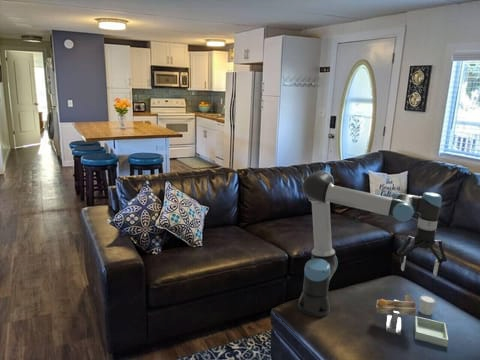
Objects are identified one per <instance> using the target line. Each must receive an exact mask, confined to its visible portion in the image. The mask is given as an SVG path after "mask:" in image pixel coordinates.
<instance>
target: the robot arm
mask: <svg viewBox="0 0 480 360" xmlns="http://www.w3.org/2000/svg"><path fill="white" fill-rule="evenodd" d="M334 184H335V179H334V176H333V175H332V174H331V173H330V172H328V171H326V170H317V171H314V172H313V173H311V174H310V175H308V176H306V178H304V180H303V181H302V184H301V185H302V186H301V189H302V192H303V194H304V196H306V197H307V198H308V202H311V213H312V227H313V228H312V229H313V231H312V233H313V245H314V246H313V247H314V248H313V249H312V250H311V259H309V260H308V261H307V262H306V263H305V264H304V274H303V285H302V286H303V287H302V292H301V294H300V297H299V299H298V302H297V308H298V310H299V311H300V312H301V313H302V314H304V315H306V316H309V317H314V318H321V317H322V318H323V317H326V316H327V315H328V314H329V313H330V309H331V305H330V301H329V296H328V294H329V285H330V281H331V279H332V277H333V276H334V273H336V270H337V269H338V266H339V265H338V264H339V262H338V260H339V259H338V258H337V256H336V250H335V249H334V248H333V247H332V245H333V244H332V227H331V226H332V225H331V224H332V223H331V205H330V204H331V203H333V204H338V205H341V206H346V207H350V208H353V209H354V208H355V209H360V210H363V211H369V212H372V213H375V214H380V215H384V216H389V217H393V218H395V220H396V221H399V222H403V223H405V222H408V221H410V220H411V219H412V217H413V215H414V214H419V215H418V219H417V220H418V221H417V227H416V230H415V231H416V232H415V236H411V235H410V234H409V235H407V237H406V239H405V241H403V243H402V244H401V246H400V247H399V248H398V249H397V250H396V253H397V255H398V256H399V257H400V259H399V262H400V264H401V266H400V269H401V271H402V272H404V271H405V266H406V261H407V260H406V259H407V257H406V256H407V255H409V254H410V253H411V252H412V251H414V250H416V249H418V248H419V249H426V250H428V249H429V250H431V253H432V254H433V255H434V256H435V258H436V259H435V261H434V267H433V272H432V274H433V276H434V277H437V275H438V271H439V270H440V269H441V267H442V264H443V263H446V262H448V260H447V257H446V254H445V252H444V249H443V241H442V240H441V239H440V238H439V239H435V238H436V232H437V228H438V222H439V218H440V217H439V216H440V213H441V207H442V200H443V198H442V196H441V195H440V194H438V193H436V192H423V194H422V196H421V195H413V194H407V193H403V192H394V193H393V194H392V197H390V196H384V195H380V194H375V193H371V192H368V191H367V192H366V191H361V190H357V189H354V188H353V189H352V188H348V187H343V186H339V185H334ZM413 241H414V242H413ZM411 242H413V243H412V244H411V245H410V246H409V244H410V243H411ZM434 244H435V245H436V246H437V248H438V251H439V253H440V255H439V254H438V252H437V251H436V250H435V248H434V247H433V245H434ZM440 256H441V257H440Z"/></svg>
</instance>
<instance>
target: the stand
mask: <svg viewBox="0 0 480 360" xmlns="http://www.w3.org/2000/svg"><path fill="white" fill-rule="evenodd" d="M393 301H399V300H397V299H394V300H393ZM386 315H387V316H386V327H385V332H388V333H391V334H395V335H398V336H401V334H402V318H401V317H400V316H399V315H400V314H399V312H397V311H394V313H393V314H386Z"/></svg>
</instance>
